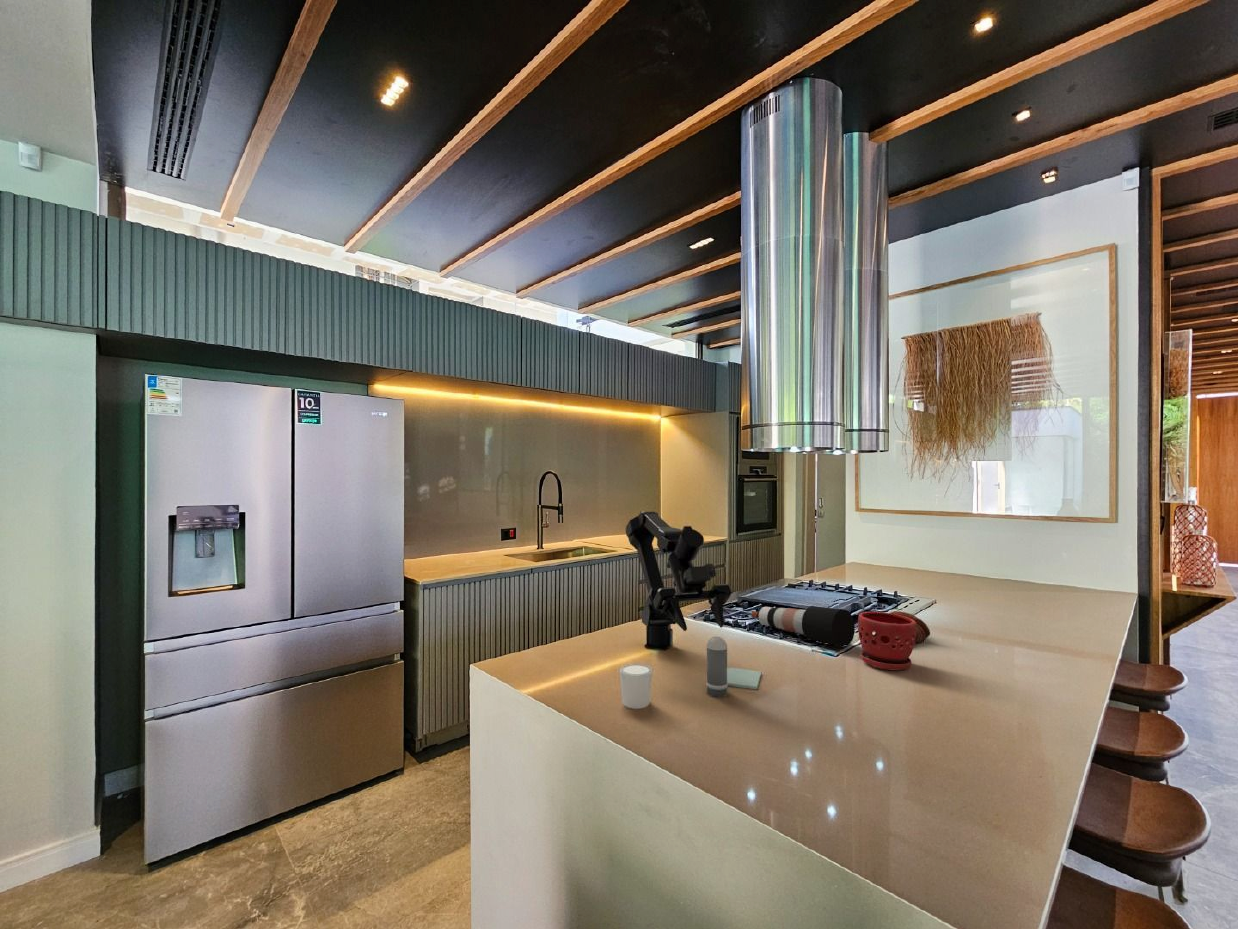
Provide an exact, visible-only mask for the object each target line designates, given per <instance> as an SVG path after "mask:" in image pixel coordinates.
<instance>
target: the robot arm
mask: <svg viewBox="0 0 1238 929" xmlns="http://www.w3.org/2000/svg"><path fill="white" fill-rule="evenodd" d="M692 527H693V526H692V525H685V526H683V528H682V529H681V528H676V527H672V526H670V525H669V524H668V522H666V521H665V520H664V519H662V518H661V517H660V516H659V513H658V512H656V511H642V512H640V513H639V514H638V515H636V516H635V517H633V518H632V519H630V520H629V521H628V523H627V524H626V526H625V535H626V537H627V538H628V539H627V540H628V542H629V544H630V546H632V547H633V548H634V549H636V551H637V554H638V555H637V556H638V559H639V562H640V567H641V571H642V573H643V574H642V575H643V578H644V581H645V582H644V583H645V585H646V590H647V596H646V598H645V602H644V608H643V610H642V613H641V614H640V615H641V617H640V618H641V623H642V624H643V625H645V626H646V628H645V629H646V630H645V631H646V643H645V644H644V648H646V649H657V650H663V651H667V650H669V648H670V647H671V646H672V645H673V642H674V641H673V640H674V637H673V634H674V633H673V632H674V630H673V628H672V625H678V626H679V628H681V629H682V630H683V632H687V630H688V626H687V623H686V622H687V621H686V620H685V616H684V615H683V611H682V609H681V607H680V602H684V601H685V602H687V601H688V602H690V601H691V602H692V601H706V600H708V603H709V605H710V607H709V608H710V610H711V613H712V614H713V616H714V619H715V621H716V623H717V625H718V626H719V628H721V629H723V627H724V605H726V604H727V602H728V600H729V599H730V597H731V596H732V594H733V590H732V587H731V586H730V584H728V583H717V584H713V585H712V586H711V588H710V590H704V588H705V589H706V586H707V582H708V581H711V580H712V579H713V578H715V577H716V576H717V571H716V568H715V566H714V564H713V563H706V564H705V565H703V566H702V565H701V566H700V565H699V566H695V565H694V563H693V561H694V560H695V559H696V558H697V556H698V555H699V552H700V550H701V548H702V547H703V545H704V542H705V536H704V535H702V533H701V532H699V530H696V529H694V528H692ZM654 539H656V546H657V548H658V549H659V551H660V552H661V553H662V554H669V555H668V558H667V562H666V568H667V569H670V570H671V574H672V577H673V582H672V585H673V586H674V587H665V585H664V582H663V578H662V575H661V570H660V567H659V564H658V560H657V556H656V553H655V549H654V546H653V542H654ZM675 587H676V588H677V590H678V592H677V591H676V589H675Z"/></svg>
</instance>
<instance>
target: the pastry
mask: <svg viewBox="0 0 1238 929" xmlns="http://www.w3.org/2000/svg"><path fill="white" fill-rule="evenodd" d="M889 613H891V614H897V615H901V616H905V617H908V618H911V619H913V620H914V621H915V622H916V636H915V642H914V645H918V644H920V643H921V644H922V643H925V642H926V640H927V639H928V637H930V635H931V630H930V628H929V627H928V625H927V624H926V623H925V622H924V621H923V620H922V619H921V618H918V616H916V615H914V614H912V613H909V612H905V611H898V610H895V611H890V612H889ZM894 624H896V623H894ZM895 638H897V639H898V638H900V637H899V636H896V637H895Z"/></svg>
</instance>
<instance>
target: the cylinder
mask: <svg viewBox="0 0 1238 929" xmlns="http://www.w3.org/2000/svg"><path fill="white" fill-rule="evenodd" d="M727 667H728V644H727V642H726V640H725V639H724V638H722V637H720V636H713V637H711V638H709V640H707V643H706V681H705V682H706V684H705V685H706V694H707V695H708V696H710V697H713V698H724V697H726V696H727V695H728V687H729V686H728V682H727Z"/></svg>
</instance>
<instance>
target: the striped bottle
mask: <svg viewBox="0 0 1238 929" xmlns="http://www.w3.org/2000/svg"><path fill="white" fill-rule="evenodd" d="M750 616H751V618H754V619H759V620H758V621H759V623H760V625H762V626H763V625H765V626H764V627H768V626H770V627H769V628H772V627H774V628H773V629H777V628H778V630H780V629H782V630H781V631H786V632H788V631H789V632H788V633H792V632H795V633H794V634H798V633H800V634H799V635H803V636H804V637H805V638H806V639H807V640H808V639H810V640H814V641H818V642H824V643H828V644H827V645H829V644H833V645H832V646H834V645H837V647H840V646H841V648H843V647H842V646H844V645H848V646H850V645H851V643H852V641H853V640H854V636H855V632H856V630H855V629H856V628H855V627H856V625H855V620H854V617H853V615H852V613H850V611H848V610H847V609H842V608H835V607H824V606H816V605H810V606H808V607H807V608H806V609H800V608H798V609H797V608H791V607H788V608H785V607H770V606H763V607H761V609H760V610H759V611H754V610H752V611H751V613H750ZM810 640H809V641H810ZM818 642H817V643H818Z"/></svg>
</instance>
